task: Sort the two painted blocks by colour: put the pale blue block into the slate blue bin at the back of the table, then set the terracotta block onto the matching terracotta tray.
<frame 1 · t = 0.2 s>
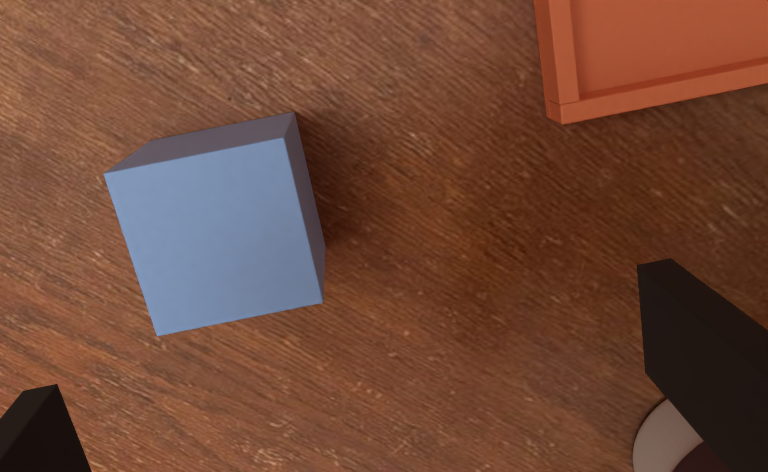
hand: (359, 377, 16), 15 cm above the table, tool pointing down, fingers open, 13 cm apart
coffee cup: (697, 440, 35), on the table
blue block: (240, 195, 29), on the table
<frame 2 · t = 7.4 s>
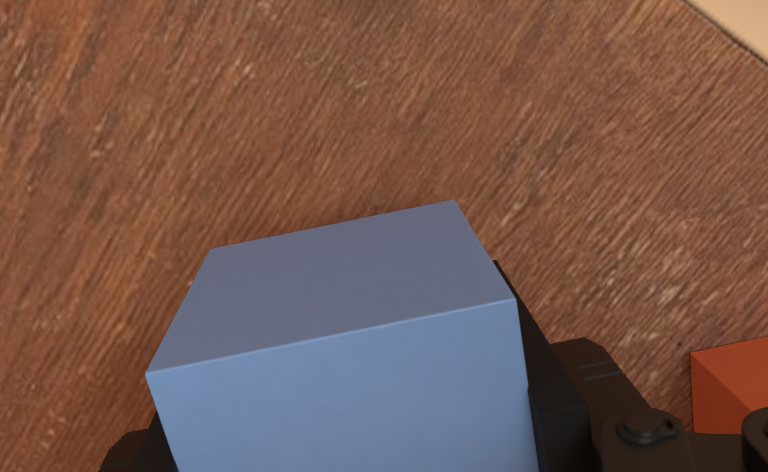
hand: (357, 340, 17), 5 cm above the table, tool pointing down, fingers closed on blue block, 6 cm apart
blue block: (357, 334, 18), point 4 cm above the table, touching gripper
when the fingers open (6 cm above the table, at t = 15.0 s): blue block stays where it is, resting on blue bin.
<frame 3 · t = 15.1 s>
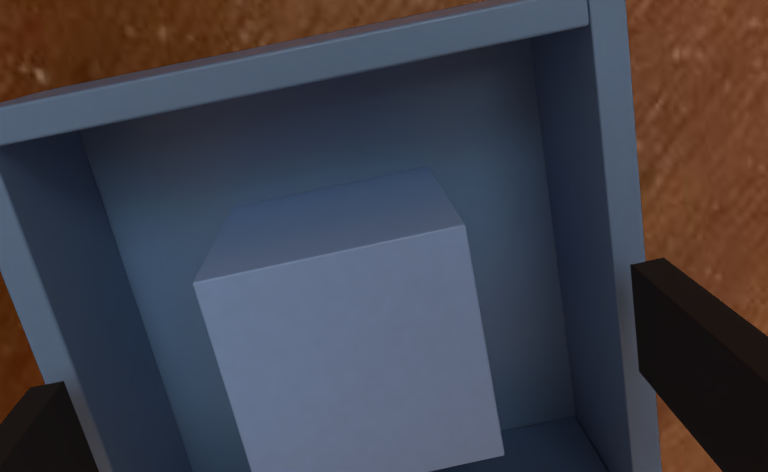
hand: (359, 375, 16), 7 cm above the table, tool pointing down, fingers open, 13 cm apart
blue block: (351, 278, 21), point 1 cm above the table, touching blue bin
blue bin: (348, 272, 22), on the table
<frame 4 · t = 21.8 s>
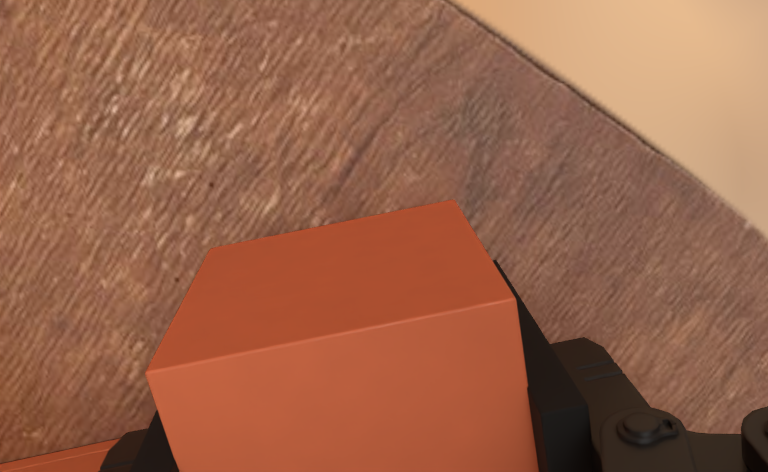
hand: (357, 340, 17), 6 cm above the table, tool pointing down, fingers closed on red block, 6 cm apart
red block: (356, 333, 18), point 5 cm above the table, touching gripper
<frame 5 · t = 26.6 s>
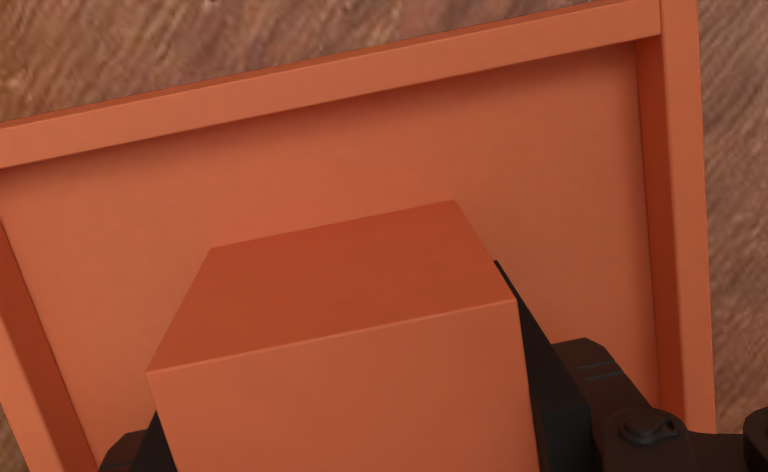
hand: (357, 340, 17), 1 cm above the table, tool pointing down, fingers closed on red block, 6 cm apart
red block: (357, 334, 17), point 1 cm above the table, touching clay tray, gripper
clay tray: (359, 323, 18), on the table
when the fingers open (1 cm above the table, at t = 26.9 s): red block stays where it is, resting on clay tray.
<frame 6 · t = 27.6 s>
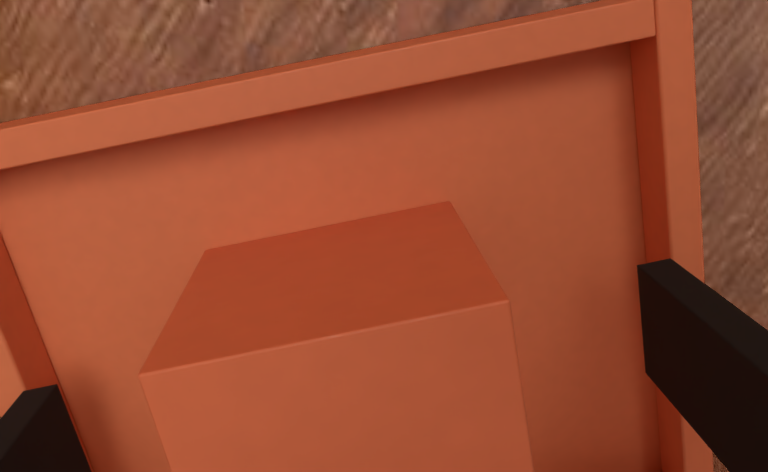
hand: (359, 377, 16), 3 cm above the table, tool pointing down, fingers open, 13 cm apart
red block: (352, 335, 17), point 1 cm above the table, touching clay tray
clay tray: (355, 325, 18), on the table
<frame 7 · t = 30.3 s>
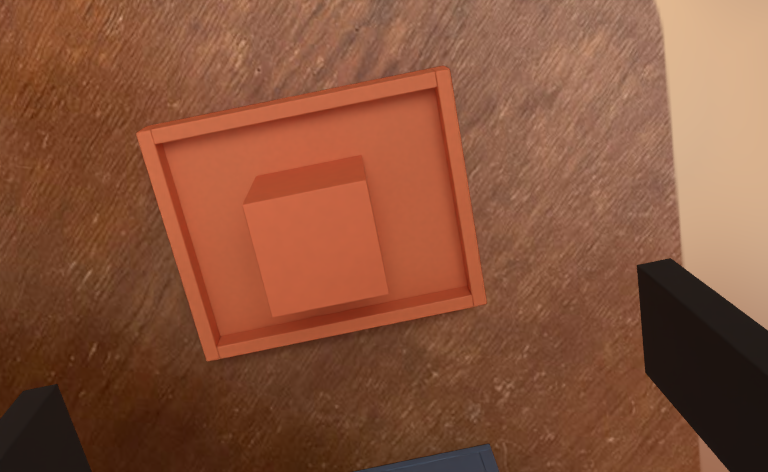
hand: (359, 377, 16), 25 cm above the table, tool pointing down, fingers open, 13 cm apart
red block: (320, 215, 39), point 1 cm above the table, touching clay tray
clay tray: (322, 212, 40), on the table
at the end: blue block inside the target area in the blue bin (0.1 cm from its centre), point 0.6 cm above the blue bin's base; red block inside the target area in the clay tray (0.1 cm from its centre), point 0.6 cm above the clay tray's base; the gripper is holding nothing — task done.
